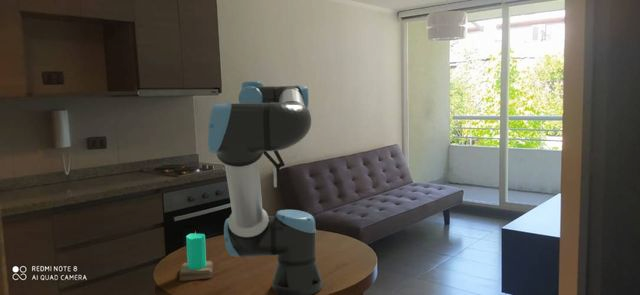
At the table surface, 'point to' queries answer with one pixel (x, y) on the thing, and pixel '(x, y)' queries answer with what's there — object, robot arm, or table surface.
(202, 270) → the stand
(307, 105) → the robot arm
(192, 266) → the candle
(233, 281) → the table surface
